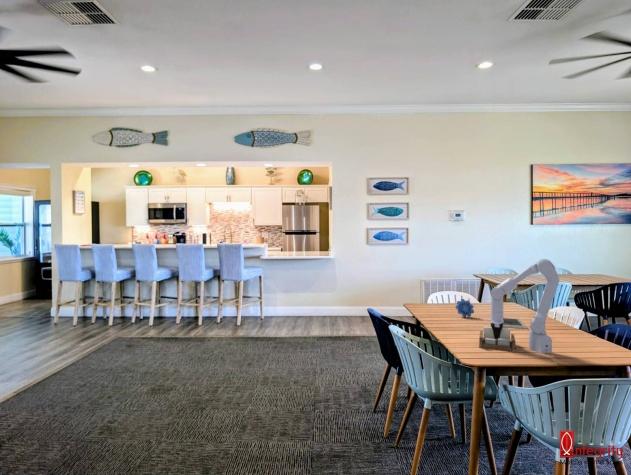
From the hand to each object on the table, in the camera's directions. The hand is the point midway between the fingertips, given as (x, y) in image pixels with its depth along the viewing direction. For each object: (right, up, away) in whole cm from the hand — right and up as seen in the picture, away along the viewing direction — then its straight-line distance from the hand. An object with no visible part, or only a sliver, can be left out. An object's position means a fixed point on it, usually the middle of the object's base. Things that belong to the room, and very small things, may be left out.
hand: (496, 338), depth 200 cm
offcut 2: (0, -3, -8) cm, 9 cm away
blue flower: (+8, -2, +63) cm, 64 cm away
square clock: (+28, -4, +45) cm, 53 cm away
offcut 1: (-6, -3, -6) cm, 9 cm away
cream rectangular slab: (0, -3, 0) cm, 3 cm away
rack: (+1, -4, +1) cm, 4 cm away
